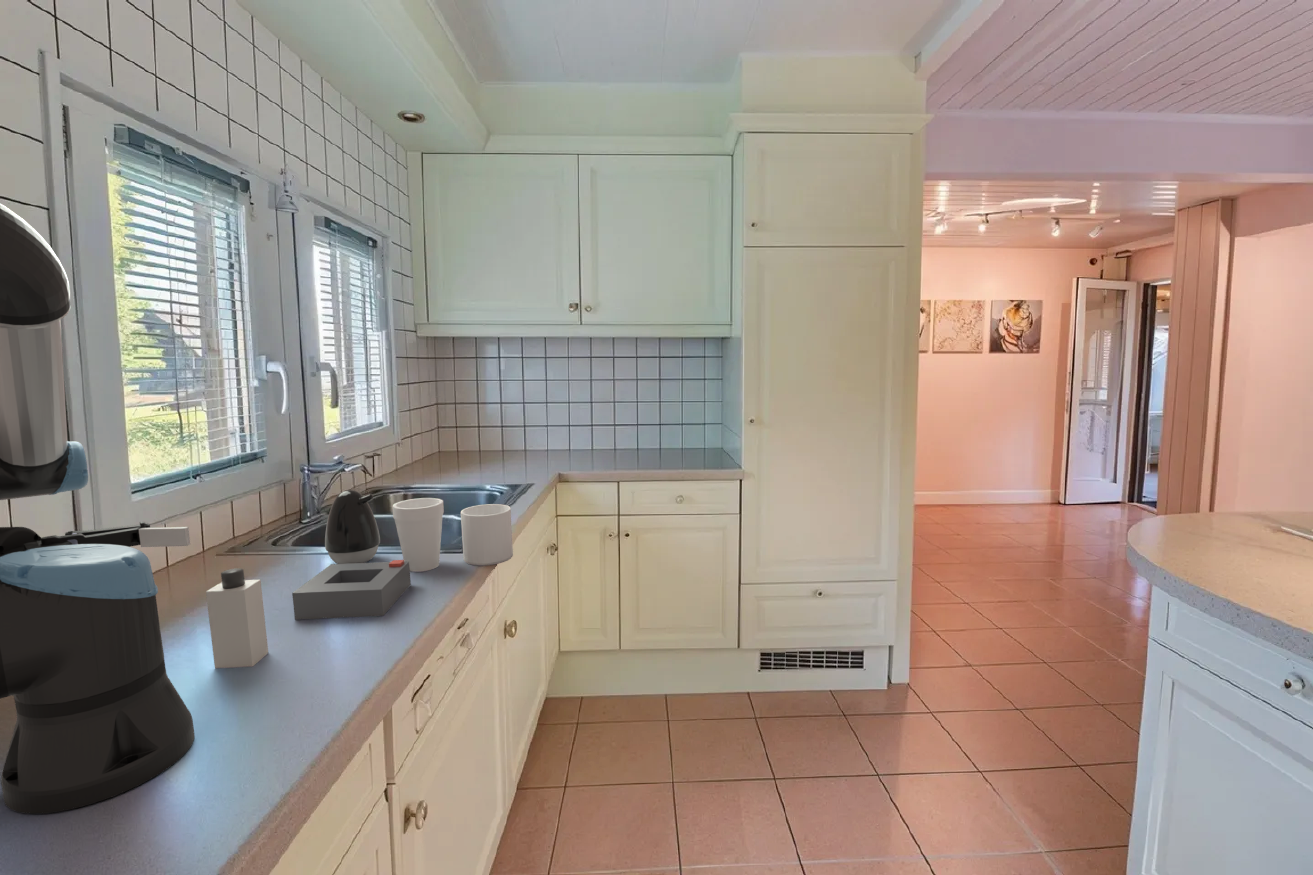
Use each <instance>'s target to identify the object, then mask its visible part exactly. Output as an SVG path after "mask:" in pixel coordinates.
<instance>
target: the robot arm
mask: <svg viewBox="0 0 1313 875" xmlns="http://www.w3.org/2000/svg"><path fill="white" fill-rule="evenodd" d="M71 305H72V301H71V288H70V283H69V279H68V276H67V273H66V270H65V268H64V267H63V264H62V263H61V261H60V259H59V257H58V256H57V255H56V253H55V252H54V250H53V248H52V247H51V245H49V243H48V242H47V241H46V240H45V239H44V237H43V236H42V235H41V234H40V233H39V232H38V231H37V230H36V229H35V227H33V226H31V224H29V223H28V222H27V221H26V220H25V219H23V218H22V217H21V216H19V215H18V214H16V213H15V212H14V211H13V210H11V209H10V208H8V207H7V206H6V205H4V204H2V203H0V501H4V500H13V499H23V498H31V497H40V496H48V495H49V496H53V495H57V494H58V493H65V492H70V491H71V492H72V491H77V490H82V489H83V488H85V487H86V486H87V485H88V483H89V472H88V463H87V457H86V452H85V448H84V446H83V444H82V443H81V442H80V441H72V440H71V441H69V440H68V428H67V412H66V411H67V410H66V409H67V408H66V394H65V393H66V392H65V376H64V375H65V374H64V359H63V358H64V357H63V342H62V324H61V320H62V319H64V318H65V317H66V316H67V315H68V314H69V312H70V311H71ZM190 545H191V537H190V529H189V526H174V527H171V526H170V527H167V526H166V527H151V524H150V523H146V522H145V521H139V523H138V524H132V525H131V524H130V525H125V526H123V525H121V526H116V527H114V526H113V527H105V528H98V529H97V528H96V529H90V530H89V529H88V530H69V531H66V532H64V535H56V534H55V535H53V534H52V535H48V536H43V537H41V536H40V535H39V534H38V533H37V532H36V531H34V530H33V529H31V528H28V527H25V526H1V527H0V699H1V700H2V699H5V698H8V697H11V696H13V698H14V704H15V705H14V706H15V713H16V720H15V726H14V728H13V732H12V736H11V740H10V744H9V746H8V749H7V753H6V758H5V761H4V765H3V769H2V772H1V779H0V784H1V790H2V796H3V802H4V804H5V806H6V807H7V808H8V809H10V810H12V811H15V812H17V813H21V814H35V815H36V814H38V815H39V814H52V813H59V812H64V811H70V810H74V809H77V808H82V807H85V806H88V805H89V806H90V805H92V804H95V803H98V802H101V801H105V800H107V799H110V798H113V797H116V796H118V795H121V794H124V793H126V792H127V791H130V790H132V789H134V788H136V787H138V786H140V785H142V784H144V783H146V782H148V781H149V780H152V779H154V778H155V777H157V776H158V775H160V774H161V773H163V772H165V771H166V770H167V769H169V768H170V767H172V766H173V765H174V764H176V763H177V762H178V761H179V760H180V759H182V757H183V756H184V755H186V753H187V752H188V751H189V750H190V748H191V746H192V745H193V742H194V741H195V728H194V719H193V716H192V714H191V712H190V710H189V709H188V707H187V705H186V704H185V701H183V698H182V697H181V696H180V694H179V692H178V691H177V689H176V687H175V686H174V685H173V684H174V683H172V681H171V680H170V677H168V674H167V668H166V662H165V654H164V653H165V652H164V646H163V639H162V634H161V633H162V632H161V625H160V619H159V618H160V617H159V611H158V604H157V594H158V593H159V589H158V586H157V585H156V583H155V578H154V574H153V569H152V565H151V561H150V558H149V557H148V556H147V554H145V553H144V552H143V551H141V550H140V549H137V548H134V547H135V546H136V547H137V546H140V547H141V548H159V547H160V548H164V547H165V548H166V547H168V548H169V547H188V546H190Z"/></svg>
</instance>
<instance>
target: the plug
mask: <svg viewBox="0 0 1313 875" xmlns="http://www.w3.org/2000/svg"><path fill="white" fill-rule="evenodd" d="M220 578H221V582H220V583H218V584H216V585H215V586H213V587H211V588H209V589H208V590H205V596H206V604H207V612H208V620H209V621H208V622H209V631H210V637H211V646H212V655H213V663H214V664H213V665H214V669H226V668H227V669H228V668H229V669H230V668H247V667H249V668H250V667H251V668H252V667H254V666H255V665H256V664H257V663H258V662H260V661H261V660H262V659H263V658H264V657H266V656H267V655H268V654H269V646H268V636H267V628H266V627H267V626H266V618H265V617H266V616H265V608H264V598H263V589H262V581H261V579H245V571H244V568H238V567H237V568H231V569H227V570H224V571H222V572H220Z"/></svg>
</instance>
